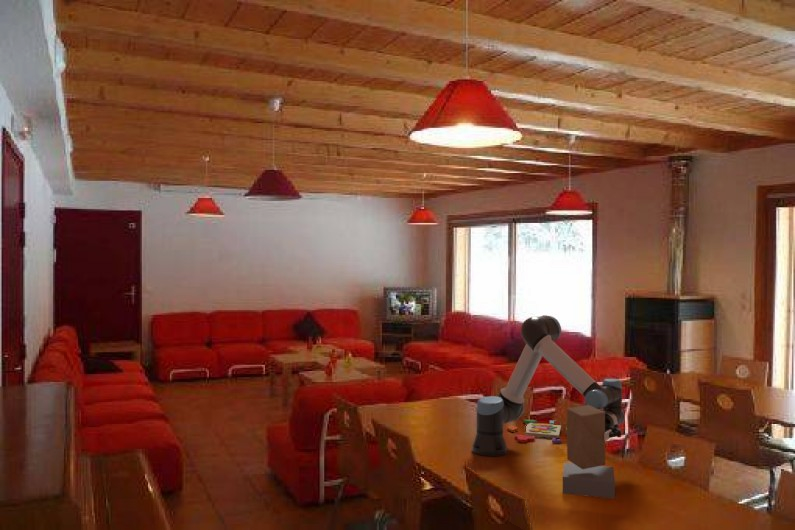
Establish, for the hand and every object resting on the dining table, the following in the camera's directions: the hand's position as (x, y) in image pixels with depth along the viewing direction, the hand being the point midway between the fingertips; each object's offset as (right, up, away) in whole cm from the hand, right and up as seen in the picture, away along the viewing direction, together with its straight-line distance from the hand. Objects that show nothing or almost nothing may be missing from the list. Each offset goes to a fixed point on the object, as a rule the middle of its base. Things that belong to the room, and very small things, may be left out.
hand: (586, 433), depth 237 cm
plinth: (+2, -21, +3) cm, 21 cm away
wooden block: (0, -11, +1) cm, 11 cm away
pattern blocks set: (+2, -21, +80) cm, 83 cm away
